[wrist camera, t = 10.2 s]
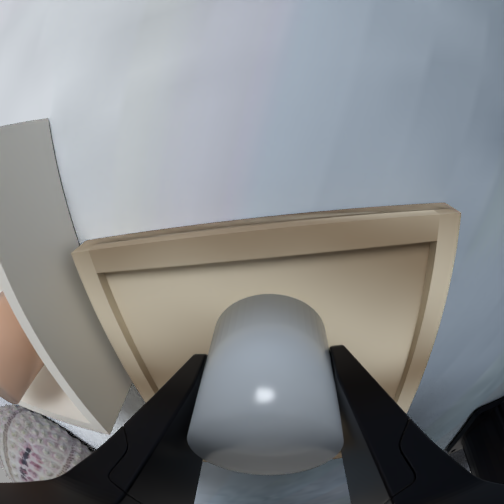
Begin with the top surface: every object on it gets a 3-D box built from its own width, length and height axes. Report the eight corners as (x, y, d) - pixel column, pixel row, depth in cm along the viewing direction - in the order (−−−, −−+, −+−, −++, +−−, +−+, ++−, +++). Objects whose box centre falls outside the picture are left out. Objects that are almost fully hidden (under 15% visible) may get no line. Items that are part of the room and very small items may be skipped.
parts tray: (385, 436, 14) (388, 449, 13) (190, 447, 15) (187, 459, 14) (444, 202, 8) (461, 212, 7) (86, 240, 9) (70, 253, 8)
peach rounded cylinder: (75, 347, 11) (34, 412, 7) (30, 341, 11) (-9, 393, 8) (40, 278, 9) (-21, 339, 6) (-2, 281, 10) (-53, 329, 6)
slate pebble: (324, 371, 10) (336, 469, 6) (225, 377, 10) (208, 473, 7) (325, 288, 8) (352, 404, 5) (202, 298, 9) (165, 409, 5)
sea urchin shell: (-8, 393, 19) (-39, 442, 11) (34, 389, 15) (-11, 467, 8) (73, 463, 23) (54, 511, 16) (145, 475, 20) (126, 542, 13)
